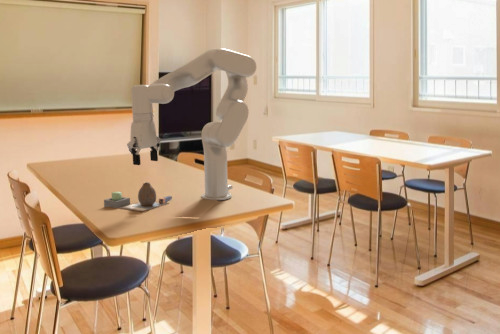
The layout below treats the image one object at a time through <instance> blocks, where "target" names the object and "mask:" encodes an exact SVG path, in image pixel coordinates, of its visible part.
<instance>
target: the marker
mask: <svg viewBox="0 0 500 334" xmlns="http://www.w3.org/2000/svg"><path fill="white" fill-rule="evenodd" d="M172 199H173V196H172V195H167V196H164V197H160V198H159V199H158V202H159V203H169V201H171V200H172Z"/></svg>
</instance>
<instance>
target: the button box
mask: <svg viewBox="0 0 500 334" xmlns="http://www.w3.org/2000/svg"><path fill="white" fill-rule="evenodd" d="M103 205H104V207H103V208H107V207H109V208H114V209H119V208H121V207H124V206H127V205H131V198H130V197H126V196H122V200H118V201H115V200H112V197H109V198H105V199H103Z"/></svg>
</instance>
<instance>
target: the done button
mask: <svg viewBox="0 0 500 334" xmlns="http://www.w3.org/2000/svg"><path fill="white" fill-rule="evenodd" d="M122 195H123V192H122V191H113V192H111V198H112V200H115V201H118V200H122V197H123V196H122Z"/></svg>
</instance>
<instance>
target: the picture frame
mask: <svg viewBox="0 0 500 334" xmlns="http://www.w3.org/2000/svg"><path fill="white" fill-rule="evenodd" d="M166 205H169V202H165V203H159V201H158V200H156V201H155V203H154V204H153V205H152V206H142V205H141V204H140V202H139V201H138V202H135V203H130V204H129V205H126V206H123V207H119V208H118V209H120V210H126V211H131V212H137V213H145V212H148V211H150V210H153V209H157V208H160V207H163V206H166Z"/></svg>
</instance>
